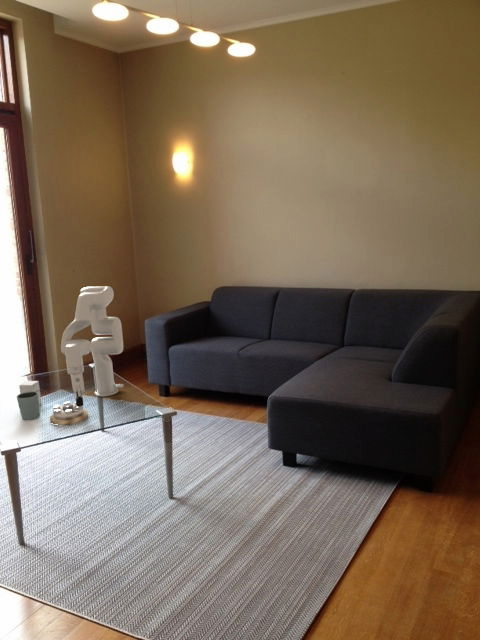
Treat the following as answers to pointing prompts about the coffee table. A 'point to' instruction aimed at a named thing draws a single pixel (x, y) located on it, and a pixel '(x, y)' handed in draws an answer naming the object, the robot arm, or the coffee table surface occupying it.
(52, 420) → the round tan disc base
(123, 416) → the coffee table surface
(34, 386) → the supplement box
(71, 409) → the disc with radial blocks
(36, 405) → the grey-green cup
